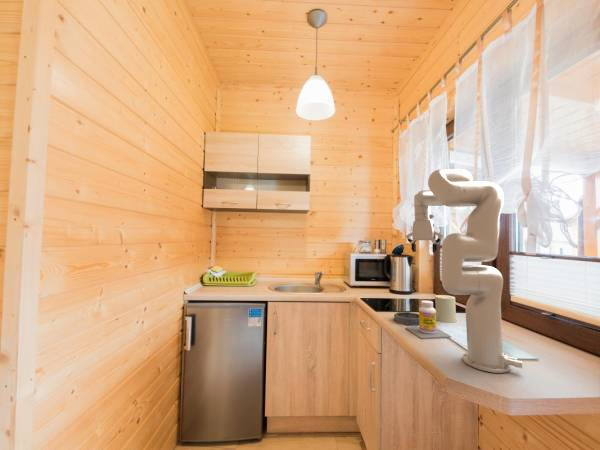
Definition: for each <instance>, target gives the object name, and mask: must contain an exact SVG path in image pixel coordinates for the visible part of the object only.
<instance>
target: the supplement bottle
mask: <svg viewBox="0 0 600 450" xmlns="http://www.w3.org/2000/svg"><path fill="white" fill-rule="evenodd" d="M420 304H421V306H420V307H419V308H418V314H419V326H418V327H419V329H420V331H421V332H423V333H427V334H435V333H436V328H437V320H436V308H434V302H433V301H431V300H421V302H420Z"/></svg>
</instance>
